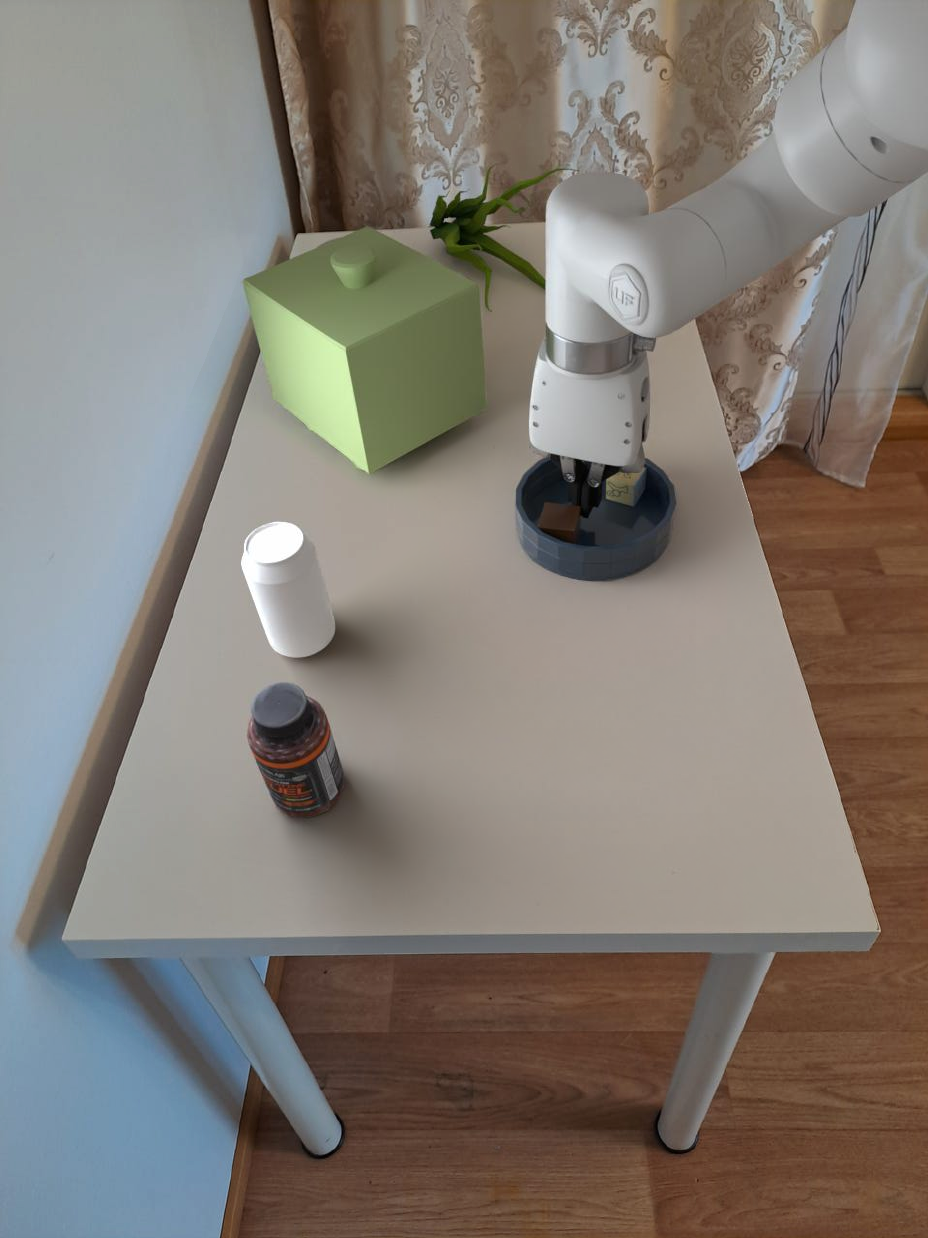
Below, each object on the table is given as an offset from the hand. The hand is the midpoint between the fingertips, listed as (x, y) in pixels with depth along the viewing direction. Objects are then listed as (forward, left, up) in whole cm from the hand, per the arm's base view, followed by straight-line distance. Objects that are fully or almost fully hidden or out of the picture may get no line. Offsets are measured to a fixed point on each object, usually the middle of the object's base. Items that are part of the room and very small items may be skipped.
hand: (584, 507), depth 88 cm
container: (+27, -11, -3) cm, 29 cm away
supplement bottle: (+12, +35, -3) cm, 38 cm away
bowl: (-1, -1, -3) cm, 3 cm away
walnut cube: (+1, +3, -2) cm, 4 cm away
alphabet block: (-3, -5, -2) cm, 6 cm away
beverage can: (+20, +21, -3) cm, 30 cm away
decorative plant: (+23, -46, -3) cm, 51 cm away
